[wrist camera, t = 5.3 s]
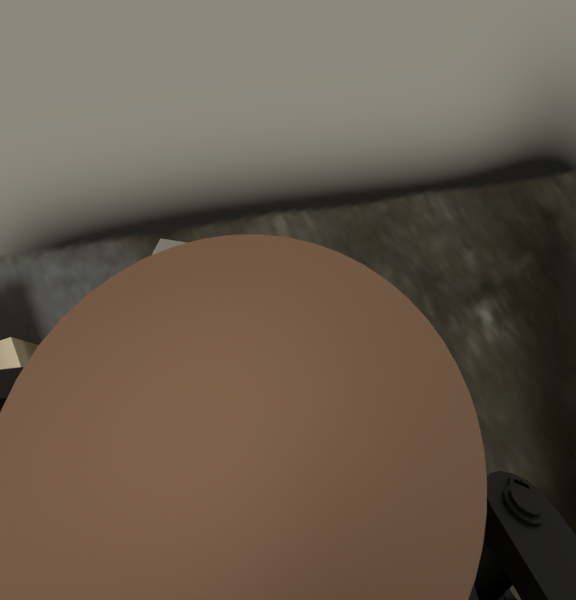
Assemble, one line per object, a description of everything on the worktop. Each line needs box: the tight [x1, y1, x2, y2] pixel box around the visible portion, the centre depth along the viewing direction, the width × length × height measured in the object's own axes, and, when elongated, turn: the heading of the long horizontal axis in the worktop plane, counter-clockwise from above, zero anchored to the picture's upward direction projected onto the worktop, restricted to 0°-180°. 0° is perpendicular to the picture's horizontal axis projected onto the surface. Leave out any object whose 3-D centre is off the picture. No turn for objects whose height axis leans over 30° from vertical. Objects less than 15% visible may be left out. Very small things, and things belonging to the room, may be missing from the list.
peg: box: [0, 234, 487, 600], centre depth 9 cm, size 3×3×14 cm
